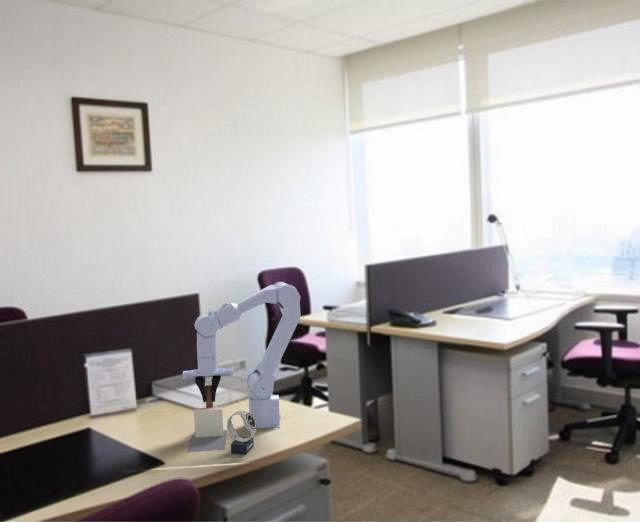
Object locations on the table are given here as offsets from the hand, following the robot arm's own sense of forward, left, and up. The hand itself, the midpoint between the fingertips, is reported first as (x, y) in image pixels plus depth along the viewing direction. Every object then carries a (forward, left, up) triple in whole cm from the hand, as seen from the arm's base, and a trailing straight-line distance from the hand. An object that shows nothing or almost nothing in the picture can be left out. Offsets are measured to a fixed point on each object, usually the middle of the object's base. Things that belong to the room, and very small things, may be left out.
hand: (209, 401), depth 181 cm
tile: (0, +4, -9) cm, 10 cm away
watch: (-10, +16, -10) cm, 21 cm away
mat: (0, +8, -9) cm, 12 cm away
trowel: (0, 0, -5) cm, 5 cm away
